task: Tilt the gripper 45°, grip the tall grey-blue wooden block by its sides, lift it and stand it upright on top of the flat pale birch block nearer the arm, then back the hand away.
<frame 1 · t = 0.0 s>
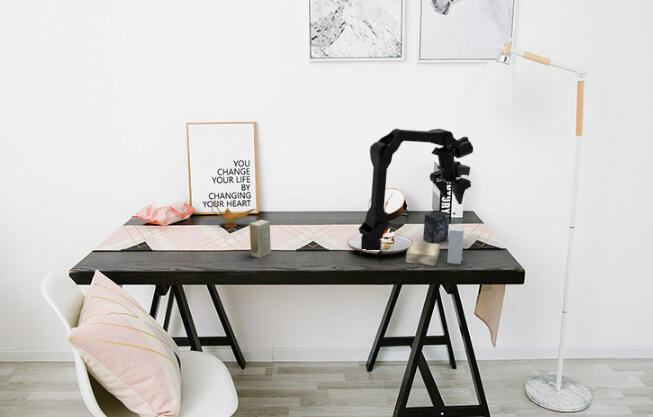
hand: (453, 200, 233), 15 cm above the table, tool pointing down, fingers open, 9 cm apart
skincare box: (260, 255, 221), on the table
magic lamp: (234, 225, 253), on the table
tall block: (454, 261, 216), on the table
box: (435, 240, 237), on the table
wooden block: (422, 258, 219), on the table
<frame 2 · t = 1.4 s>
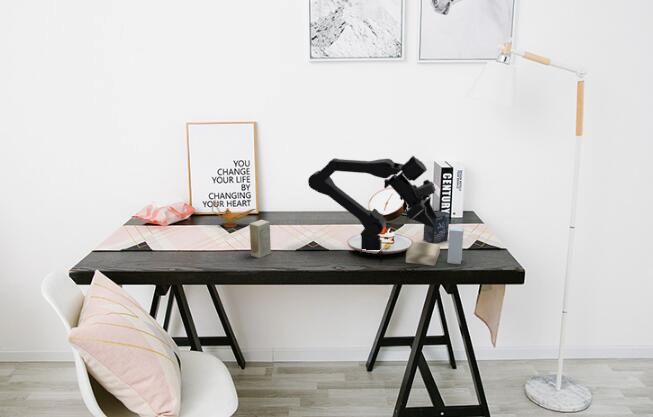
hand: (434, 222, 214), 13 cm above the table, tool tilted 45°, fingers open, 9 cm apart
nothing on the table moved.
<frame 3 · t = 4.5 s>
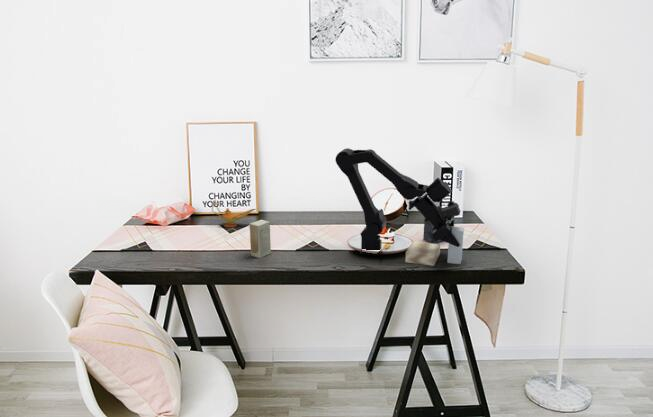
hand: (459, 243, 214), 7 cm above the table, tool tilted 45°, fingers closed on tall block, 4 cm apart
tall block: (454, 261, 216), on the table, touching gripper
everything else where it was.
when the fingers open (12 cm above the table, at t = 10.3 s): tall block drops 1 cm, point 4 cm above the table.
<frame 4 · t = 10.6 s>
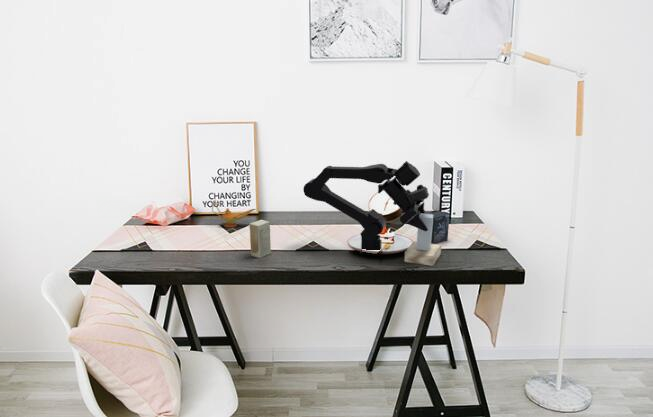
hand: (428, 227, 215), 12 cm above the table, tool tilted 45°, fingers open, 7 cm apart
tall block: (423, 248, 218), point 4 cm above the table
everything else where it was.
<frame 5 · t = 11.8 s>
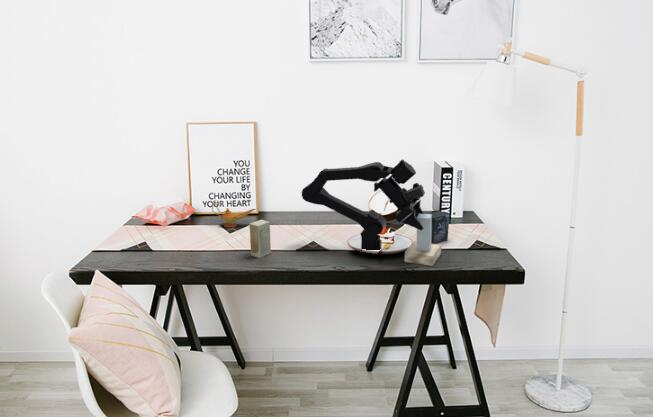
hand: (424, 225, 216), 12 cm above the table, tool tilted 45°, fingers open, 9 cm apart
tall block: (424, 248, 218), point 4 cm above the table, touching wooden block
wooden block: (422, 259, 219), on the table, touching tall block
everything else where it was.
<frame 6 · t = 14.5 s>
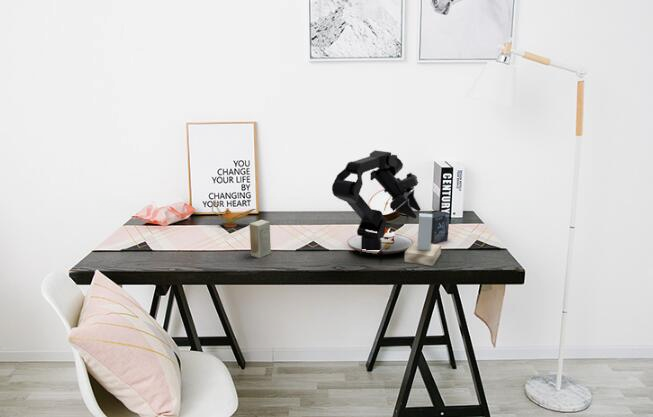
hand: (417, 213, 223), 14 cm above the table, tool tilted 45°, fingers open, 9 cm apart
at the end: tall block inside the target area on the wooden block (0.4 cm from its centre), point 4.2 cm above the wooden block's base; tall block tilted 4°; the gripper is holding nothing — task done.
